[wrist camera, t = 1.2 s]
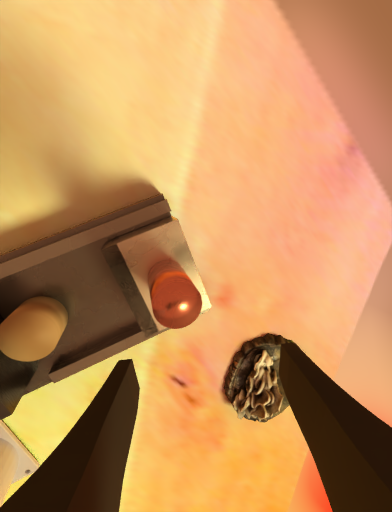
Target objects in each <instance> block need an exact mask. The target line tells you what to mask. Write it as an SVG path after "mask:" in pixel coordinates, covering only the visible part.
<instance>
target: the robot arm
mask: <svg viewBox="0 0 392 512" xmlns="http://www.w3.org/2000/svg"><path fill="white" fill-rule="evenodd" d="M279 377H280V380H281V383H282V386H283V389H284V392H285V395H286V398H287V400H288V402H289V404H290V407H291V409H292V411H293V413H294V416H295V418H296V420H297V422H298V424H299V427H300V429H301V431H302V433H303V435H304V438H305V440H306V442H307V444H308V446H309V449H310V451H311V453H312V456H313V458H314V461H315V463H316V466H317V469H318V471H319V474H320V477H321V480H322V482H323V485H324V488H325V491H326V494H327V496H328V499H329V502H330V505H331V508H332V511H333V512H392V427H390V426H389V425H387V424H386V423H385V422H383V421H382V420H380V419H379V418H378V417H376V416H375V415H374V414H372V413H371V412H370V411H368V410H367V409H366V408H365V407H364V406H362V405H361V404H360V403H359V402H357V401H356V400H355V399H354V398H352V397H351V396H350V395H349V394H348V393H347V392H345V391H344V390H343V389H342V388H341V387H340V386H338V385H337V384H336V383H335V382H334V381H333V380H332V379H331V378H330V377H329V376H327V375H326V374H325V373H324V372H323V371H322V370H321V369H320V368H319V367H318V366H317V365H316V364H315V363H314V362H313V361H312V360H311V359H310V358H309V357H308V356H307V355H306V354H305V353H304V352H303V351H302V350H301V349H300V348H299V347H298V346H297V345H296V344H295V343H284V344H281V348H280V361H279ZM139 390H140V388H139V384H138V380H137V376H136V373H135V369H134V365H133V361H132V359H127V360H119V361H118V362H117V364H116V365H115V367H114V369H113V370H112V372H111V373H110V375H109V377H108V378H107V380H106V381H105V383H104V384H103V386H102V387H101V389H100V390H99V392H98V393H97V395H96V396H95V398H94V399H93V401H92V402H91V404H90V405H89V406H88V408H87V409H86V411H85V412H84V413H83V415H82V416H81V417H80V419H79V420H78V421H77V423H76V424H75V425H74V427H73V428H72V429H71V430H70V432H69V433H68V434H67V435H66V437H65V438H64V439H63V440H62V442H61V443H60V444H59V445H58V446H57V448H56V449H55V450H54V451H53V452H52V453H51V455H50V456H49V457H48V458H47V459H46V460H45V461H44V462H43V463H42V465H41V466H40V467H39V463H38V462H37V460H36V459H35V458H34V457H33V456H32V455H31V454H30V452H29V451H28V450H27V449H26V448H25V447H24V446H23V444H22V443H21V442H20V441H19V440H18V439H17V437H16V436H15V435H14V434H13V433H12V432H11V431H10V429H9V428H8V427H7V426H6V425H5V424H4V423H3V421H2V420H0V512H119V506H120V499H121V491H122V484H123V478H124V472H125V467H126V462H127V458H128V453H129V448H130V444H131V439H132V434H133V430H134V425H135V420H136V415H137V409H138V401H139ZM33 472H34V473H33ZM32 473H33V474H32ZM30 474H32V476H31V477H30V478H29V479H28V480H27V481H26V482H25V483H24V484H23V485H22V486H21V487H20V488H19V489H18V490H17V491H16V492H15V493H14V494H13V495H12V496H11V497H10V498H9V499H8V500H7V501H6V502H5V503H4V504H3V501H4V499H5V497H6V494H7V492H8V490H9V487H10V485H11V484H12V483H14V482H16V481H18V480H20V479H22V478H24V477H26V476H28V475H30ZM2 504H3V505H2Z"/></svg>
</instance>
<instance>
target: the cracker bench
mask: <svg viewBox="0 0 392 512" xmlns="http://www.w3.org/2000/svg"><path fill="white" fill-rule="evenodd" d="M170 211H171V209H170V207H169V204H168V202H167V199H164V196H163V193H162V194H159V195H156V196H153V197H151V198H148V199H146V200H143V201H140V202H138V203H135V204H133V205H130V206H127V207H125V208H122V209H120V210H117V211H114V212H112V213H109V214H107V215H104V216H101V217H99V218H96V219H94V220H91V221H88V222H86V223H83V224H81V225H78V226H75V227H73V228H70V229H68V230H65V231H62V232H60V233H57V234H54V235H52V236H49V237H47V238H44V239H41V240H39V241H36V242H34V243H31V244H28V245H26V246H23V247H21V248H18V249H15V250H13V251H10V252H8V253H5V254H2V255H0V324H1V323H2V322H3V321H4V320H5V319H6V318H7V317H8V316H9V315H10V314H11V313H12V312H13V311H14V310H15V309H17V308H18V307H19V306H20V305H21V304H22V303H23V302H24V301H26V300H28V299H30V298H33V297H38V296H45V297H50V298H53V299H55V300H57V301H59V302H60V303H61V304H62V305H63V306H64V307H65V308H66V310H67V313H68V323H67V325H66V327H65V329H64V331H63V333H62V335H61V337H60V339H59V341H58V343H57V345H56V347H55V348H54V350H53V351H52V352H51V353H50V354H49V355H47V356H46V357H44V358H42V359H39V360H36V361H28V362H27V361H18V360H15V359H12V358H10V357H8V356H6V355H5V354H4V353H3V352H2V351H1V350H0V420H1V419H4V418H6V417H8V416H10V415H12V413H13V412H14V410H15V408H16V406H17V404H18V403H19V401H20V399H21V397H22V396H23V395H25V394H27V393H29V392H32V391H34V390H36V389H38V388H40V387H42V386H44V385H46V384H49V383H51V382H54V383H56V382H58V381H60V380H62V379H64V378H67V377H69V376H71V375H73V374H75V373H77V372H79V371H81V370H84V369H86V368H88V367H90V366H92V365H94V364H96V363H98V362H101V361H103V360H105V359H107V358H109V357H111V356H113V355H115V354H118V353H120V352H122V351H124V350H126V349H128V348H130V347H132V346H135V345H137V344H139V343H141V342H143V341H145V340H147V339H149V338H152V337H154V336H156V335H158V334H160V333H162V332H164V331H166V330H169V329H171V328H165V329H163V330H161V331H159V332H157V333H154V334H152V335H150V336H148V337H146V338H145V336H144V334H143V332H142V330H141V328H140V326H139V324H138V322H137V320H136V318H135V316H134V314H133V312H132V310H131V308H130V306H129V304H128V303H127V301H126V299H125V297H124V295H123V293H122V291H121V289H120V287H119V285H118V283H117V281H116V279H115V277H114V275H113V273H112V271H111V269H110V267H109V266H108V264H107V262H106V260H105V258H104V256H103V254H102V252H101V249H102V247H103V245H104V244H105V242H108V241H110V240H113V239H115V238H118V237H120V236H123V235H125V234H128V233H130V232H133V231H135V230H138V229H140V228H143V227H145V226H148V225H150V224H153V223H155V222H158V221H160V220H163V219H165V218H168V217H170V216H171V214H170ZM207 311H209V308H208V309H206V310H204V311H201V312H200V314H203V313H205V312H207ZM200 314H199V315H200Z"/></svg>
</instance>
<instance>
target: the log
mask: <svg viewBox="0 0 392 512" xmlns="http://www.w3.org/2000/svg"><path fill="white" fill-rule="evenodd" d="M284 343H294V342H293V341H292V340H287V339H285V338H283V337H282V336H281V335H278V336H275V335H272V334H269V333H268V334H266V335H265V336H263V337H258V338H255V339H253V340H252V341H247V342H246V343H244V344H243V346H242V348H241V351H239V352H237V353H236V354H235V356H234V358H233V363H232V364H231V366H230V368H229V373H228V375H227V377H226V379H225V386H224V389H225V391H226V393H225V394H226V395H227V397H228V399H229V400H230V401H231V403H232V404H233V405H234V409H235V411H237V412H238V418H239V419H242V418H243V417H244V418H246V419H248V420H253V421H256V420H258V421H259V422H267V421H268V420H269V419H271V418H274V417H275V416H277V415H278V414H280V413H282V412H283V411H284V410H285V409H286V408H287V406H289V405H290V404H289V402H288V400H287V398H286V395H285V392H284V389H283V386H282V383H281V380H280V377H279V361H280V348H281V344H284Z"/></svg>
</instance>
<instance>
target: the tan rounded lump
mask: <svg viewBox="0 0 392 512" xmlns="http://www.w3.org/2000/svg"><path fill="white" fill-rule="evenodd" d="M67 323H68V313H67V310H66V308H65V307H64V306H63V305H62V304H61V303H60V302H59V301H57V300H55V299H53V298H50V297H45V296H38V297H33V298H30V299H28V300H26V301H24V302H23V303H22V304H21V305H20V306H19V307H18V308H17V309H15V310H14V311H13V312H12V313H11V314H10V315H9V316H8V317H7V318H6V319H5V320H4V321H3V322H2V323H1V324H0V350H1V351H2V352H3V353H4V354H5V355H6V356H8V357H10V358H12V359H15V360H18V361H27V362H28V361H36V360H39V359H42V358H44V357H46V356H47V355H49V354H50V353H51V352H52V351H53V350H54V348H55V347H56V345H57V343H58V341H59V339H60V337H61V335H62V333H63V331H64V329H65V327H66V325H67Z"/></svg>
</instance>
